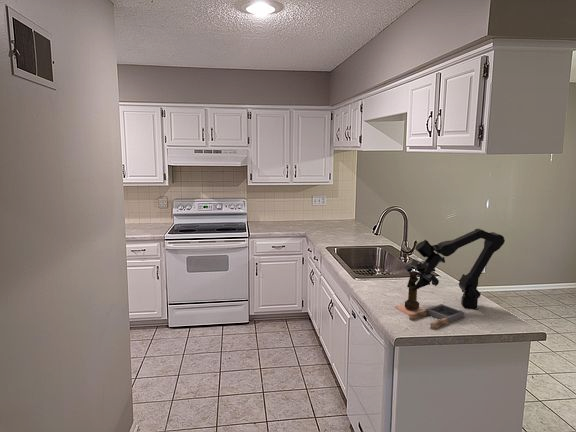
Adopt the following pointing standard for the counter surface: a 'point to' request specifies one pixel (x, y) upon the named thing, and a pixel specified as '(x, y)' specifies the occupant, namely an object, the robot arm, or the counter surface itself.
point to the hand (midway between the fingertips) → (410, 288)
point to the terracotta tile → (406, 310)
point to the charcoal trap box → (444, 312)
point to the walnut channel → (424, 313)
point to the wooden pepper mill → (412, 294)
